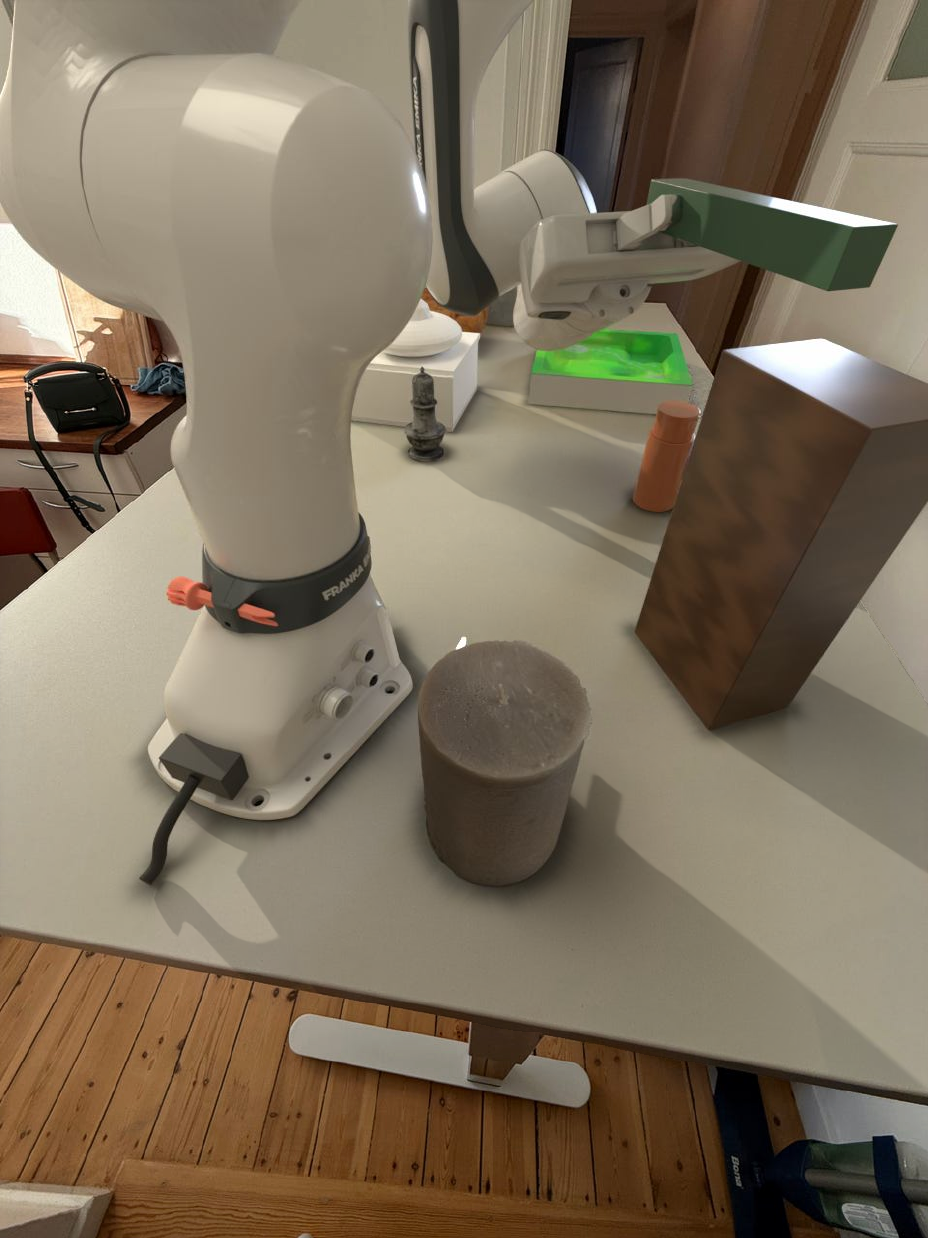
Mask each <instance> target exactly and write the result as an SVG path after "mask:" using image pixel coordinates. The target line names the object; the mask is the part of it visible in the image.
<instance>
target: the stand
mask: <svg viewBox="0 0 928 1238" xmlns="http://www.w3.org/2000/svg"><path fill="white" fill-rule="evenodd" d="M927 503H928V382H925V381H923V380H920V379H918V378H916V377H914V376H911V375H910V374H908V373H907V374H906V373H904V372H902V371H900V370H897V369H895V368H892V367H890V366H888V365H885V364H883V363H881V362H880V361H879V362H878V361H876V360H874V359H872V358H870V357H867V356H865V355H862V354H859V353H857V352H855V351H852V350H850V349H848V348H845V347H844V346H841V345H839V344H836V343H833V342H831V341H829V340H827V339H824V338H816V339H815V338H814V339H807V340H799V341H790V342H781V343H773V344H763V345H762V344H761V345H755V346H747V347H735V348H729V349H728V348H727V349H723V350H722V352H721V355H720V358H719V361H718V364H717V367H716V371H715V374H714V377H713V380H712V383H711V387H710V390H709V393H708V396H707V400H706V402H705V406H704V409H703V412H702V414H701V418H700V421H699V424H698V428H697V431H696V433H695V440H694V443H693V447H692V450H691V453H690V456H689V459H688V463H687V466H686V469H685V472H684V475H683V478H682V482H681V485H680V488H679V491H678V494H677V498H676V501H675V504H674V506H673V508H672V509H671V510H672V511H671V513H670V516H669V519H668V520H669V521H668V523H667V526H666V530H665V533H664V536H663V539H662V542H661V544H660V545H661V546H660V549H659V552H658V555H657V558H656V562H655V566H654V568H653V570H652V574H651V578H650V580H649V584H648V587H647V589H646V593H645V597H644V600H643V603H642V606H641V609H640V613H639V615H638V618H637V622H636V625H635V629H634V634H635V635H636V637H637V638H638V639H639V640H640V642H641V643H642V644H643V646H644V647H645V648H646V650H647V651H648V653H649V654H650V655H651V656H652V658H653V659H654V660H655V662H656V663H657V665H658V666H659V667H660V668H661V670H662V671H663V672H664V674H665V675H666V676H667V678H668V679H669V680H670V682H671V683H672V684H673V685H674V687H675V688H676V689H677V691H678V692H679V693H680V695H681V696H682V698H683V699H684V700H685V701H686V703H687V704H688V705H689V707H690V708H691V709H692V711H693V712H694V714H695V715H696V716H697V717H698V719H699V720H700V721H701V723H702V724H703V725H704V727H705V728H706V729H707V730H708V731H711V730H716V729H718V728H722V727H725V726H728V725H732V724H736V723H739V722H743V721H746V720H749V719H753V718H755V717H761V716H763V715H767V714H770V713H774V712H776V711H779V710H783V709H787V708H789V707H790V705H791V703H792V701H794V699H795V697H796V695H797V694H799V692H800V690H801V689H802V687H803V686H804V684H805V683H806V681H807V680H808V678H809V677H810V676H811V675H812V672H813V671H814V670H815V668H816V667H817V665H818V663H820V661H821V659H822V658H823V656H824V655H825V654H826V651H827V650H828V649H829V647H831V644H832V643H833V641H834V640H835V639H836V637H838V634H839V633H840V631H841V630H842V629H843V627H844V625H845V624H846V622H847V621H848V619H849V618H850V616H851V615H852V614H853V612H854V611H855V609H856V608H857V606H858V605H859V604H860V602H861V601H862V599H863V598H864V596H865V594H866V593H867V592H868V591H869V589H870V587H871V586H872V585H873V583H874V581H875V580H876V578H878V575H879V574H880V572H881V571H882V570H883V568H884V566H885V565H886V563H888V560H889V559H890V558H891V556H892V555H893V553H894V552H895V551H896V549H897V547H898V546H899V544H901V541H902V540H903V539H904V537H905V536H906V534H907V533H908V531H909V530H910V528H911V527H912V526H913V524H914V522H916V520H917V518H918V516H919V515H920V514H921V512H922V510H923V509H924V508H925V506H927Z"/></svg>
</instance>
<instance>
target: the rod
mask: <svg viewBox="0 0 928 1238" xmlns="http://www.w3.org/2000/svg"><path fill="white" fill-rule="evenodd" d="M650 180H651V181H650V185H649V190H648V195H647V199H646V200H647V201H646V205H649V204H651V203H653V202H654V201H655V200H656V199H657V198H659V197H660V196H661V195H674V194H679V195H681V197H682V204H681V207H682V218H681V220H680V222H679V223H677V224H676V225H674V226H673V227H672V228H671V229H669V230H666V231H659V232H660V233H663V234H666V235H669V236H671V237H674V238H677V239H680V240H683V241H686V242H689V243H691V244H694V245H697V246H700V247H703V248H706V249H708V250H711V251H714V252H717V253H720V254H723V255H726V256H728V257H731V258H734V259H737V260H740V262H743V263H746V264H749V265H751V266H753V267H757V268H760V269H762V270H766V271H768V272H771V273H774V274H777V275H780V276H782V277H786V278H788V279H790V280H794V281H797V282H800V283H803V284H806V285H808V286H811V287H814V288H817V289H820V290H822V291H826V292H836V291H846V290H848V291H849V290H857V289H868V288H871V286H872V284H873V281H874V279H875V277H876V275H877V273H878V270H879V268H880V266H881V264H882V262H883V259H884V257H885V255H886V253H887V250H888V249H889V247H890V244H891V242H892V240H893V237H894V236H895V233H896V231H897V229H898V227H899V224H898V223H895V222H889V221H885V220H880V219H876V218H871V217H866V216H863V215H857V214H853V213H849V212H843V211H839V210H835V209H831V208H825V207H820V206H816V205H811V204H806V203H801V202H798V201H793V200H788V199H783V198H778V197H774V196H769V195H764V194H760V193H756V192H750V191H746V190H742V189H737V188H732V187H728V186H723V185H718V184H713V183H709V182H705V181H699V180H695V179H691V178H687V177H675V178H652V179H650Z"/></svg>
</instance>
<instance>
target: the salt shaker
mask: <svg viewBox="0 0 928 1238" xmlns="http://www.w3.org/2000/svg"><path fill="white" fill-rule="evenodd" d="M420 371H421V372H420V373H418V374H416V375H415V376H414V377H413V378H412V393H413V399H412V400H411V401H410V404H411V405H412V406H413V422H411V423H409V424H407V425H406V426H405V427H404V428H403V432H404V433H403V434H405V435H406V436H405V437H406V439H407V441H408V443H409V445H410V447H409V448H408V449H407V456H408V457H409V459H411V460H412V461H416V462H420V463H430V462H435V461H438V460H440V459H442V458H443V457H444V456H445V450H444V448H443V447H442V446H440V445H441V444H442V442H443V439H444V437H445V433H447V432H446V428H445V426H444V425H443V424H442V423H440V422H437V421H436V417H435V405H436V404H437V400H436V399H434V380H433V378H432V376H431V375H429V374H427V373H425V372H424V371H425V369H424V368H423V367H421V369H420Z"/></svg>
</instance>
